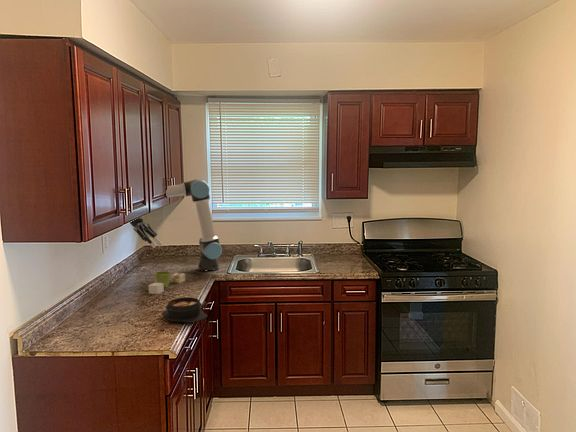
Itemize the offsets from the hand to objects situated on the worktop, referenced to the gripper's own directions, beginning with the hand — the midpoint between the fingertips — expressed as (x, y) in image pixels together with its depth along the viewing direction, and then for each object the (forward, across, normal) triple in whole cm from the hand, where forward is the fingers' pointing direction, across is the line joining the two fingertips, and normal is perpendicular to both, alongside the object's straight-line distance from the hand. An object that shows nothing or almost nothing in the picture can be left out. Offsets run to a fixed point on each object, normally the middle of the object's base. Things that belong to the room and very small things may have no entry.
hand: (158, 245), depth 274 cm
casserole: (+51, +50, +17) cm, 74 cm away
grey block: (+23, +16, -11) cm, 30 cm away
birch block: (+23, -8, -12) cm, 27 cm away
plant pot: (+21, +4, -14) cm, 25 cm away
